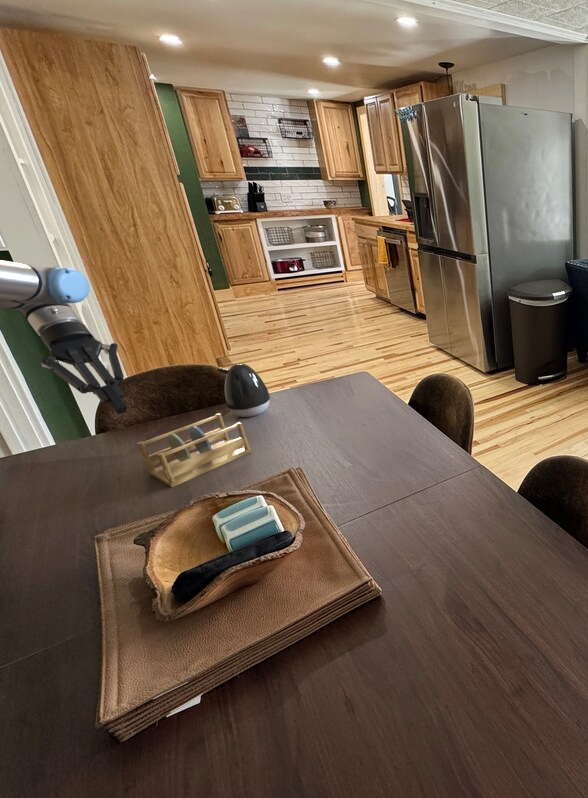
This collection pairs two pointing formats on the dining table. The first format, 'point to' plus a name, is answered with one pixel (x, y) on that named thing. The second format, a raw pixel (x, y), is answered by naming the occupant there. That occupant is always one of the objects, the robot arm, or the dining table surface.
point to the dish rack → (199, 460)
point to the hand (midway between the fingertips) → (122, 410)
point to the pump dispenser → (245, 391)
